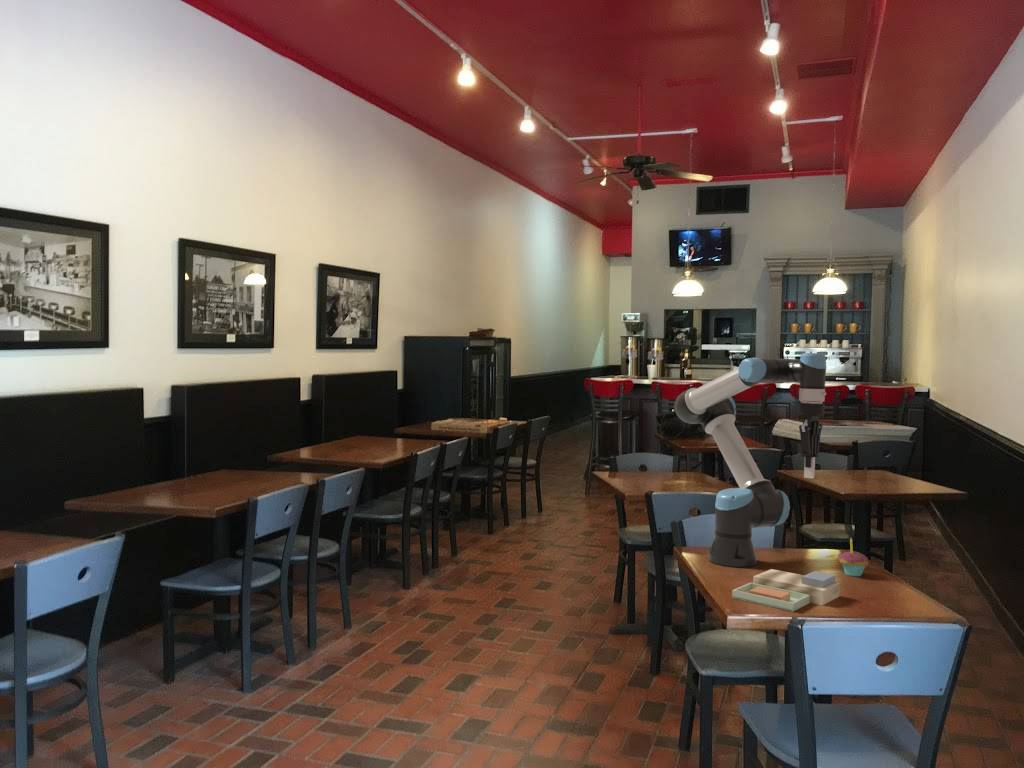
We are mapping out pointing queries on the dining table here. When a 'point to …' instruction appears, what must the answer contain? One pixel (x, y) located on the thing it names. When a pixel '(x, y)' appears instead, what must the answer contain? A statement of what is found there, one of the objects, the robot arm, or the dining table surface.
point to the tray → (795, 598)
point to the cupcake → (853, 562)
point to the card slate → (818, 579)
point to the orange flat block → (771, 593)
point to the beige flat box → (797, 585)
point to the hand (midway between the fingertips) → (809, 477)
